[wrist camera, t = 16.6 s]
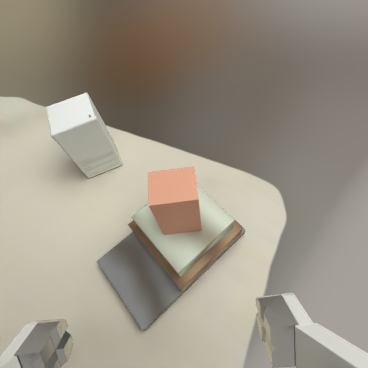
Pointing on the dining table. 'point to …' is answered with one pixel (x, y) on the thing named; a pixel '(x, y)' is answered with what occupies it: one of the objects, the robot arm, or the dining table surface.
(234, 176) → the dining table surface
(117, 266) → the build plinth
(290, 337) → the robot arm
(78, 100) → the supplement box
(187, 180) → the block
